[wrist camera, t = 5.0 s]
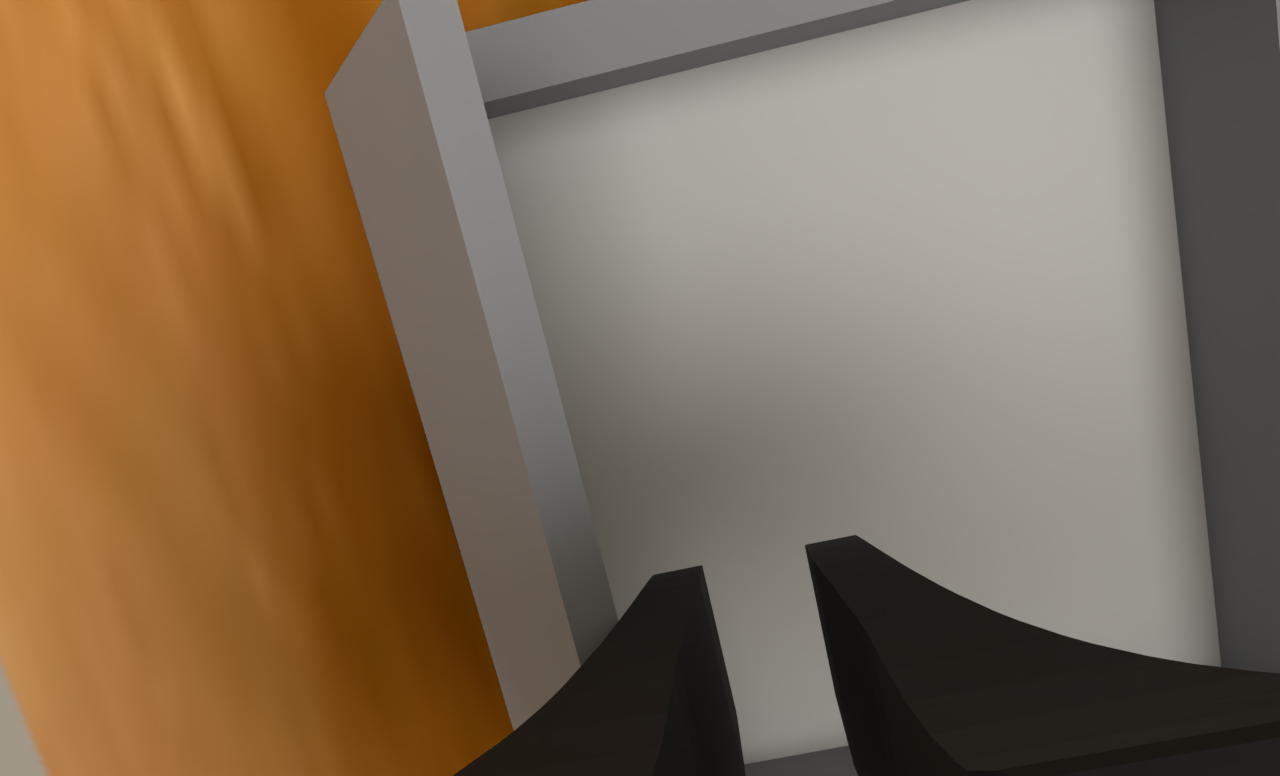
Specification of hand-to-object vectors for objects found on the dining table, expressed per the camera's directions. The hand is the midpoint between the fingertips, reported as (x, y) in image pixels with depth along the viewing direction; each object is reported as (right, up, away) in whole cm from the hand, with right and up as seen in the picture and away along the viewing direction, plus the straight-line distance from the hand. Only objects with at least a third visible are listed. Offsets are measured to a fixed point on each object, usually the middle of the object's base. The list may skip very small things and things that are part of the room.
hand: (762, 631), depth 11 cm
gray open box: (+3, +3, +8) cm, 9 cm away
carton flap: (-3, 0, +1) cm, 3 cm away
